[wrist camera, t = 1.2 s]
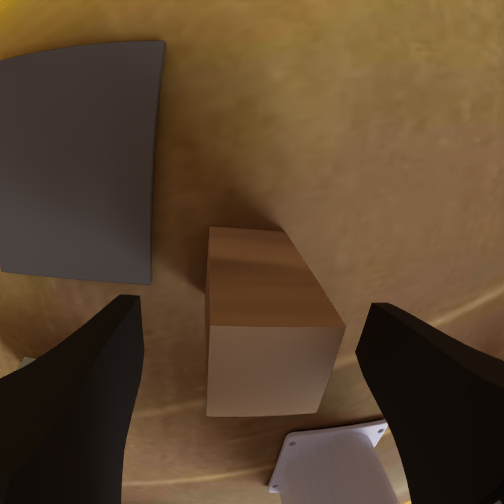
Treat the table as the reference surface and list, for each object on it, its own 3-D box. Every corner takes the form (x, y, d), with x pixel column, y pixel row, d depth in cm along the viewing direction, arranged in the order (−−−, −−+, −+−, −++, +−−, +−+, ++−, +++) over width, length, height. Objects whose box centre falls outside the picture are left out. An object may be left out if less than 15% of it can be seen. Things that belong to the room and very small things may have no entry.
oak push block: (274, 296, 15) (316, 412, 9) (205, 294, 15) (206, 416, 8) (285, 231, 14) (345, 326, 7) (209, 226, 13) (210, 325, 7)
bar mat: (152, 279, 14) (150, 285, 13) (6, 267, 13) (1, 271, 12) (166, 43, 10) (164, 40, 10) (1, 62, 9) (-5, 61, 9)
